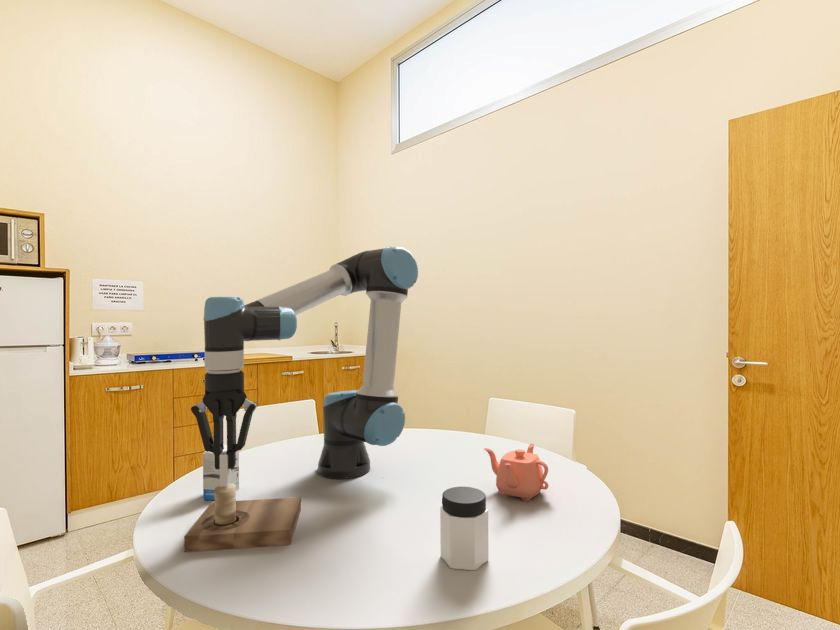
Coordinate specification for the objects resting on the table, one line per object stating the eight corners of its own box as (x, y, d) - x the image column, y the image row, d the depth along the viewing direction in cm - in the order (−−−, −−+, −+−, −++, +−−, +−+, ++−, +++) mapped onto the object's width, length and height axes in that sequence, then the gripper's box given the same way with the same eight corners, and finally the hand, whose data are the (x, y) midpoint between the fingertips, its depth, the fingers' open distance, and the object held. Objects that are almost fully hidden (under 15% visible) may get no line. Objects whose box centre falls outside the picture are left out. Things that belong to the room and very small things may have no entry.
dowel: (238, 529, 97) (237, 482, 97) (233, 538, 93) (233, 490, 93) (218, 531, 96) (217, 484, 96) (212, 540, 92) (211, 491, 92)
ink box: (219, 501, 111) (219, 453, 111) (202, 499, 112) (201, 452, 112) (240, 488, 120) (240, 443, 120) (223, 486, 121) (223, 442, 121)
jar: (460, 541, 91) (459, 482, 91) (495, 555, 86) (495, 492, 86) (432, 560, 84) (431, 496, 84) (468, 577, 79) (468, 508, 79)
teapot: (506, 508, 106) (505, 461, 106) (483, 486, 120) (483, 444, 120) (561, 501, 110) (561, 456, 110) (533, 480, 124) (533, 440, 124)
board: (301, 509, 106) (301, 497, 106) (290, 544, 90) (290, 529, 90) (211, 515, 104) (211, 502, 104) (184, 551, 88) (184, 536, 88)
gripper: (260, 368, 99) (261, 475, 99) (198, 369, 97) (199, 479, 97) (252, 372, 91) (253, 489, 92) (184, 374, 90) (185, 492, 90)
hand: (225, 483), depth 94 cm, fingers closed
